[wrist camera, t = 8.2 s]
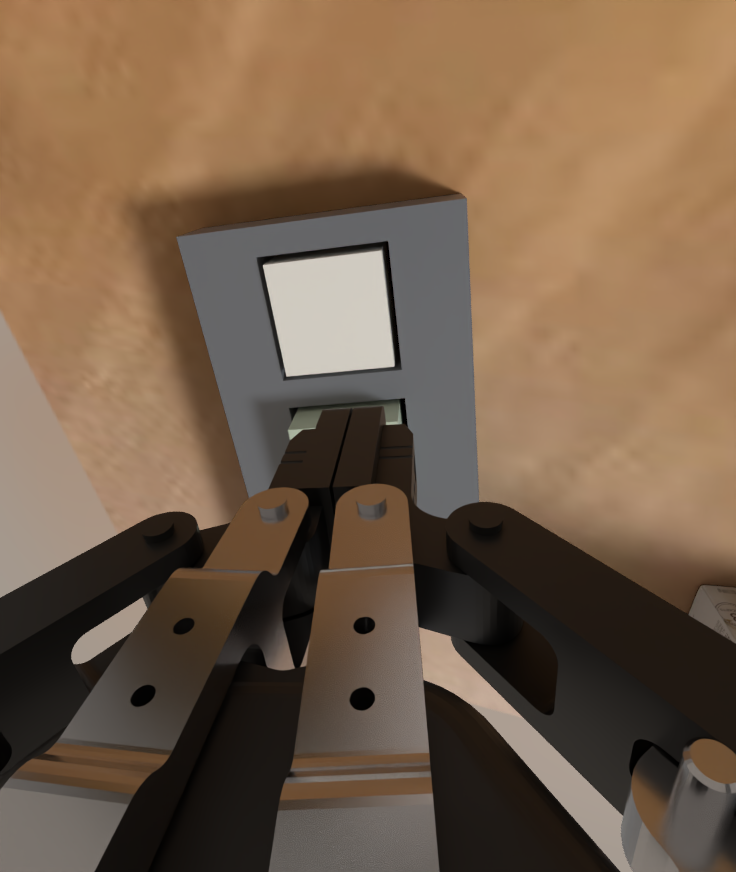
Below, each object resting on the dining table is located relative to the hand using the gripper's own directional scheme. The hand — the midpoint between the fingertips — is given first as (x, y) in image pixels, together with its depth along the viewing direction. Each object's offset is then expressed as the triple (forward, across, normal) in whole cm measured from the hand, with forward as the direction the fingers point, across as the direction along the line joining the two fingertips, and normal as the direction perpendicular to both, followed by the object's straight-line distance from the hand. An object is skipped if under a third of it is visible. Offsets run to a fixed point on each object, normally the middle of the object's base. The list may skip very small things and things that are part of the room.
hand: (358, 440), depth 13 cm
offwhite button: (+14, +2, 0) cm, 14 cm away
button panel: (+14, +2, +7) cm, 16 cm away
